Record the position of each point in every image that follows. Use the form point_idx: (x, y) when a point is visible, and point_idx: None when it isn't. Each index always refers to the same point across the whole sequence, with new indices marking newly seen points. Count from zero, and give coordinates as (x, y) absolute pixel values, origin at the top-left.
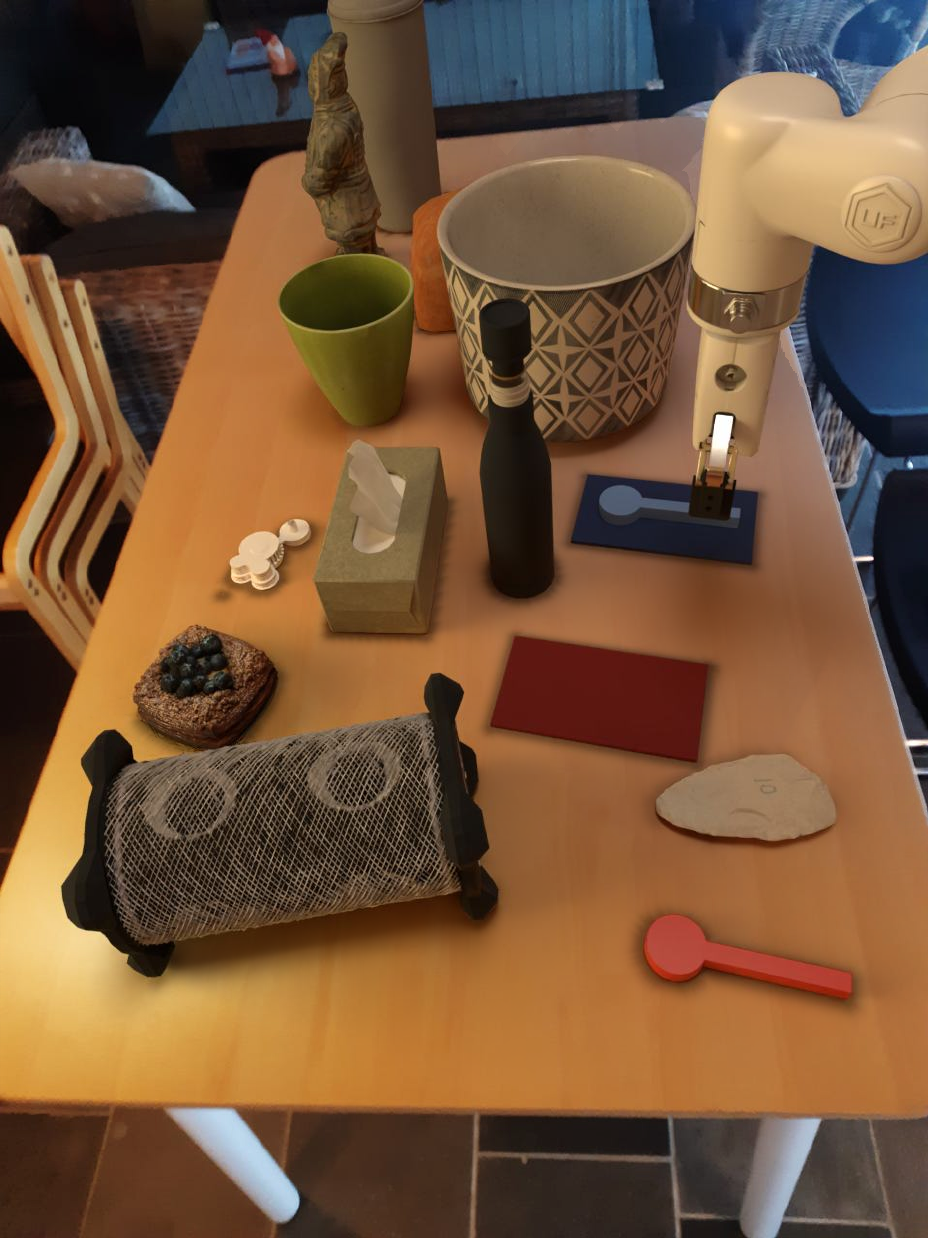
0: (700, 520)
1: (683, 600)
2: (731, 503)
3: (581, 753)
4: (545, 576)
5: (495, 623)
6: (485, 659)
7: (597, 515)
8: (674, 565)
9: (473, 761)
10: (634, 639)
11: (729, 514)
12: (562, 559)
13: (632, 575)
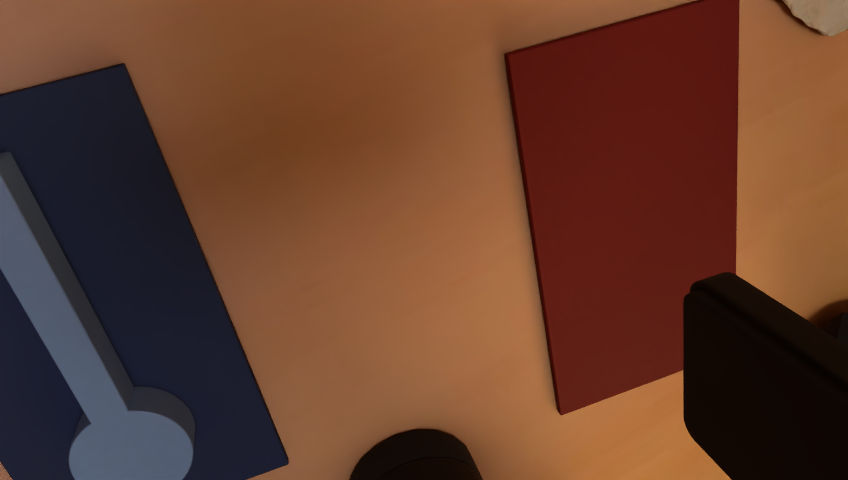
0: (59, 257)
1: (336, 179)
2: (817, 331)
3: (749, 197)
4: (443, 458)
5: (537, 452)
6: (612, 423)
7: None
8: (237, 244)
9: (845, 341)
10: (486, 227)
11: (754, 289)
12: (340, 446)
13: (316, 311)
